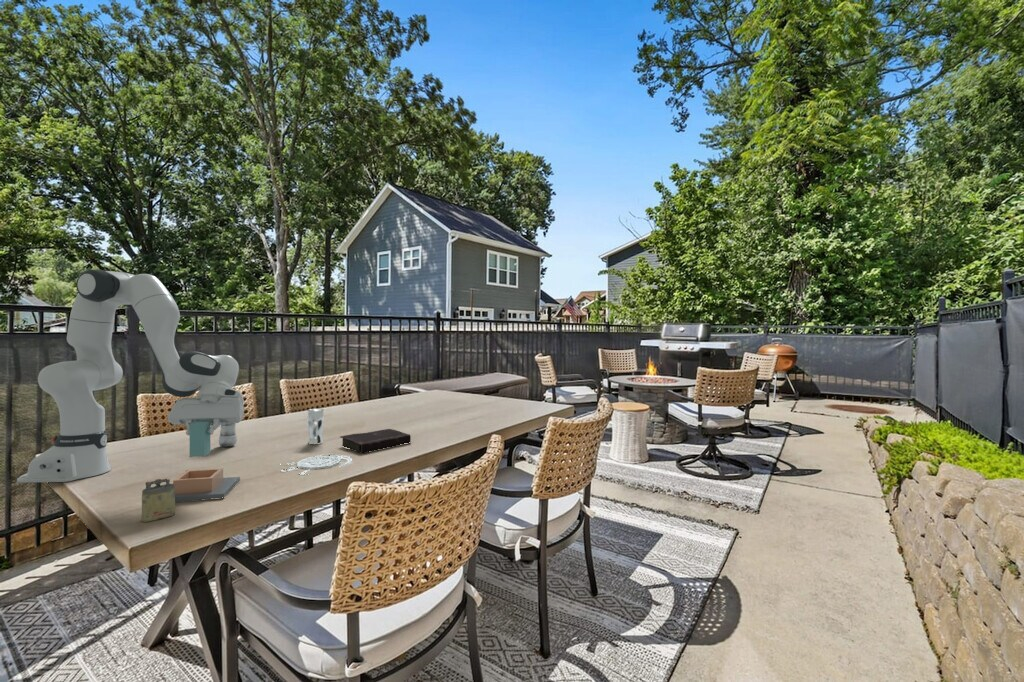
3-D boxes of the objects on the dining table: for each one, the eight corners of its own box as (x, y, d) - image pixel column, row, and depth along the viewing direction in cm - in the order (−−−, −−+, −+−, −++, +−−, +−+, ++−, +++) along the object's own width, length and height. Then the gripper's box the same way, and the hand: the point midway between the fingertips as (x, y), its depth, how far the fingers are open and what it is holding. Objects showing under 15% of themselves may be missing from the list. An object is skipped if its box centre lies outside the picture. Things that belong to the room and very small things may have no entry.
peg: (189, 456, 135) (189, 424, 134) (196, 453, 139) (196, 421, 138) (204, 456, 135) (204, 423, 135) (210, 452, 139) (210, 421, 139)
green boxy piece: (173, 511, 122) (173, 475, 122) (177, 515, 120) (177, 478, 119) (139, 519, 117) (140, 482, 116) (143, 523, 114) (143, 485, 114)
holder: (152, 504, 127) (152, 485, 127) (176, 485, 142) (176, 468, 142) (223, 498, 132) (224, 480, 132) (239, 481, 147) (240, 464, 147)
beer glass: (317, 445, 195) (317, 411, 195) (303, 444, 197) (303, 410, 196) (326, 441, 202) (327, 409, 202) (313, 440, 203) (313, 408, 203)
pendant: (367, 462, 173) (367, 459, 173) (294, 480, 152) (294, 476, 152) (339, 452, 187) (339, 449, 187) (268, 466, 165) (268, 463, 165)
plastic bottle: (223, 444, 194) (224, 398, 194) (239, 444, 194) (240, 399, 194) (215, 448, 187) (215, 401, 187) (231, 448, 188) (232, 401, 188)
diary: (410, 445, 202) (411, 434, 202) (361, 456, 183) (362, 444, 183) (386, 437, 214) (387, 427, 214) (338, 447, 195) (338, 435, 195)
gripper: (174, 392, 141) (156, 429, 132) (244, 391, 146) (232, 427, 136) (181, 404, 146) (164, 440, 136) (249, 402, 150) (238, 438, 141)
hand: (199, 434), depth 136 cm, fingers closed on peg, 4 cm apart
